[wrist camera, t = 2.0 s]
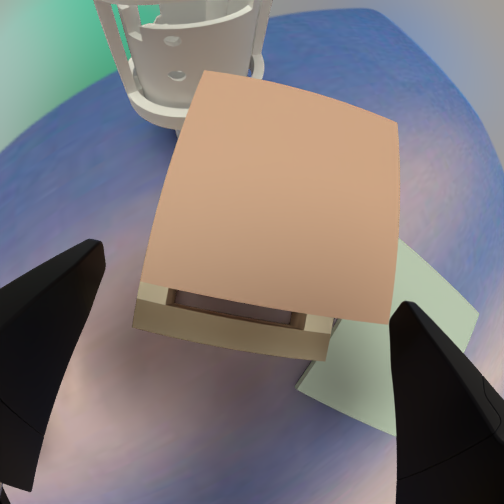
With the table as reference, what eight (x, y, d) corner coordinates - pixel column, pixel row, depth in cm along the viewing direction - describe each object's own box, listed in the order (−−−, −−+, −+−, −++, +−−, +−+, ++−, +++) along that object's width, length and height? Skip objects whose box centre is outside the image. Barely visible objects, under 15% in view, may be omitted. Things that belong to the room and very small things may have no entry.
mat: (409, 440, 17) (413, 443, 16) (294, 386, 17) (296, 389, 16) (474, 313, 19) (479, 313, 18) (384, 231, 19) (389, 230, 18)
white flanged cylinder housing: (226, 80, 19) (245, -100, 4) (267, 153, 19) (348, -59, 4) (137, 112, 18) (78, -69, 3) (166, 192, 17) (76, -29, 3)
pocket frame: (308, 351, 17) (325, 361, 14) (146, 322, 16) (131, 327, 13) (331, 198, 19) (350, 182, 16) (182, 165, 18) (176, 143, 15)
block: (276, 305, 17) (388, 324, 5) (194, 290, 17) (140, 281, 5) (290, 225, 18) (397, 123, 6) (211, 209, 18) (204, 70, 6)
